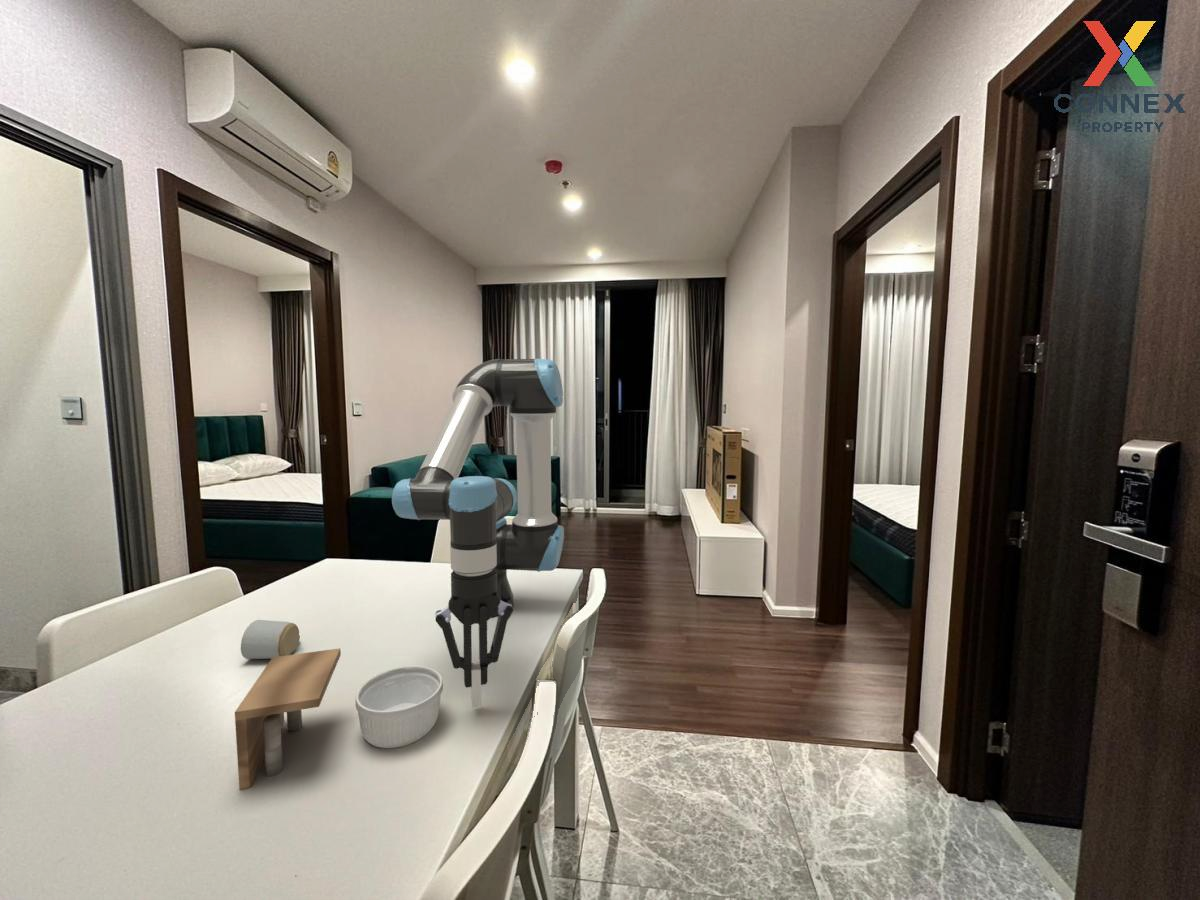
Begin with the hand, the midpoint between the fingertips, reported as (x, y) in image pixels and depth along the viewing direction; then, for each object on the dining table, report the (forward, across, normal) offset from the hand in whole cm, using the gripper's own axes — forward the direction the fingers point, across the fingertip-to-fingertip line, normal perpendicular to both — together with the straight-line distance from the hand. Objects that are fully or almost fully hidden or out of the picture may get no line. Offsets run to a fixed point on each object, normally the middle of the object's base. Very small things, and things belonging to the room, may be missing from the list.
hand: (476, 702), depth 82 cm
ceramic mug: (+2, +40, -34) cm, 52 cm away
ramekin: (+2, +12, 0) cm, 12 cm away
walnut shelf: (+2, +27, 0) cm, 27 cm away
